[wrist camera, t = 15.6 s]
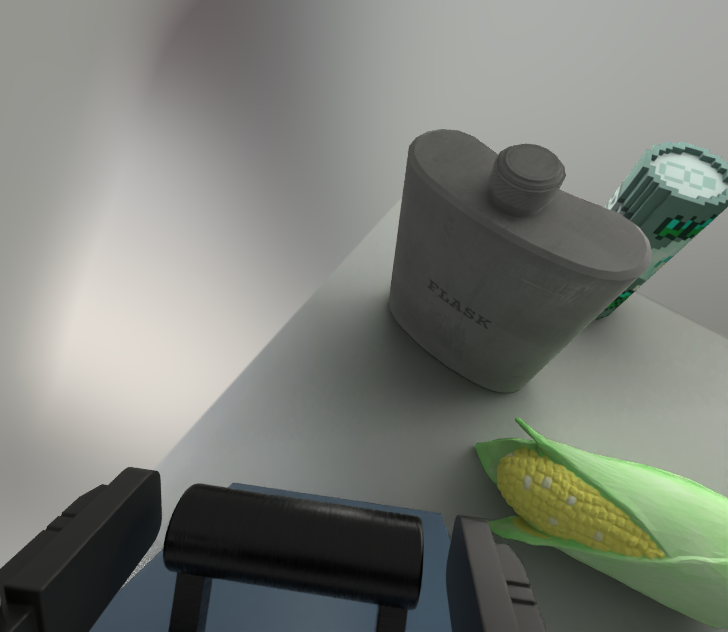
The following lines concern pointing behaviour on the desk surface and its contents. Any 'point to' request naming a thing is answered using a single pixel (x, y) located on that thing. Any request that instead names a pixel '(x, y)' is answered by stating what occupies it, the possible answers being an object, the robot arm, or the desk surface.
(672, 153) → the can
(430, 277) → the flask
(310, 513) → the freezer lid
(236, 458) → the desk surface
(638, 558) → the corn
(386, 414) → the desk surface
